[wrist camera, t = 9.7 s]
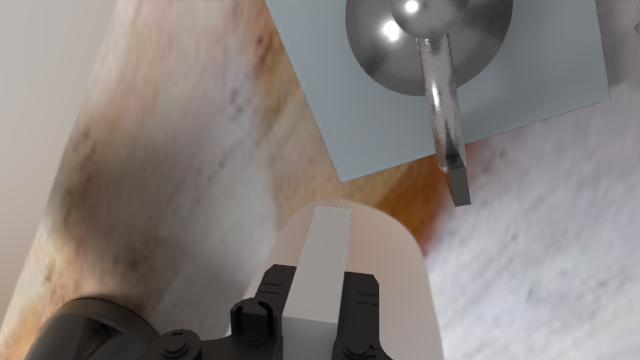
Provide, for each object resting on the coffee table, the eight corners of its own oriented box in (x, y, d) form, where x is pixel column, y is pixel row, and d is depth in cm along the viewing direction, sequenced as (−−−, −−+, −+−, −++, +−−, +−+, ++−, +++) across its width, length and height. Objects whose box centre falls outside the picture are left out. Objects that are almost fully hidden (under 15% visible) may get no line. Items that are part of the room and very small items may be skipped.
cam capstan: (313, -130, 25) (285, -177, 18) (485, -196, 22) (527, -279, 16) (381, 173, 32) (380, 218, 25) (517, 148, 29) (554, 191, 23)
